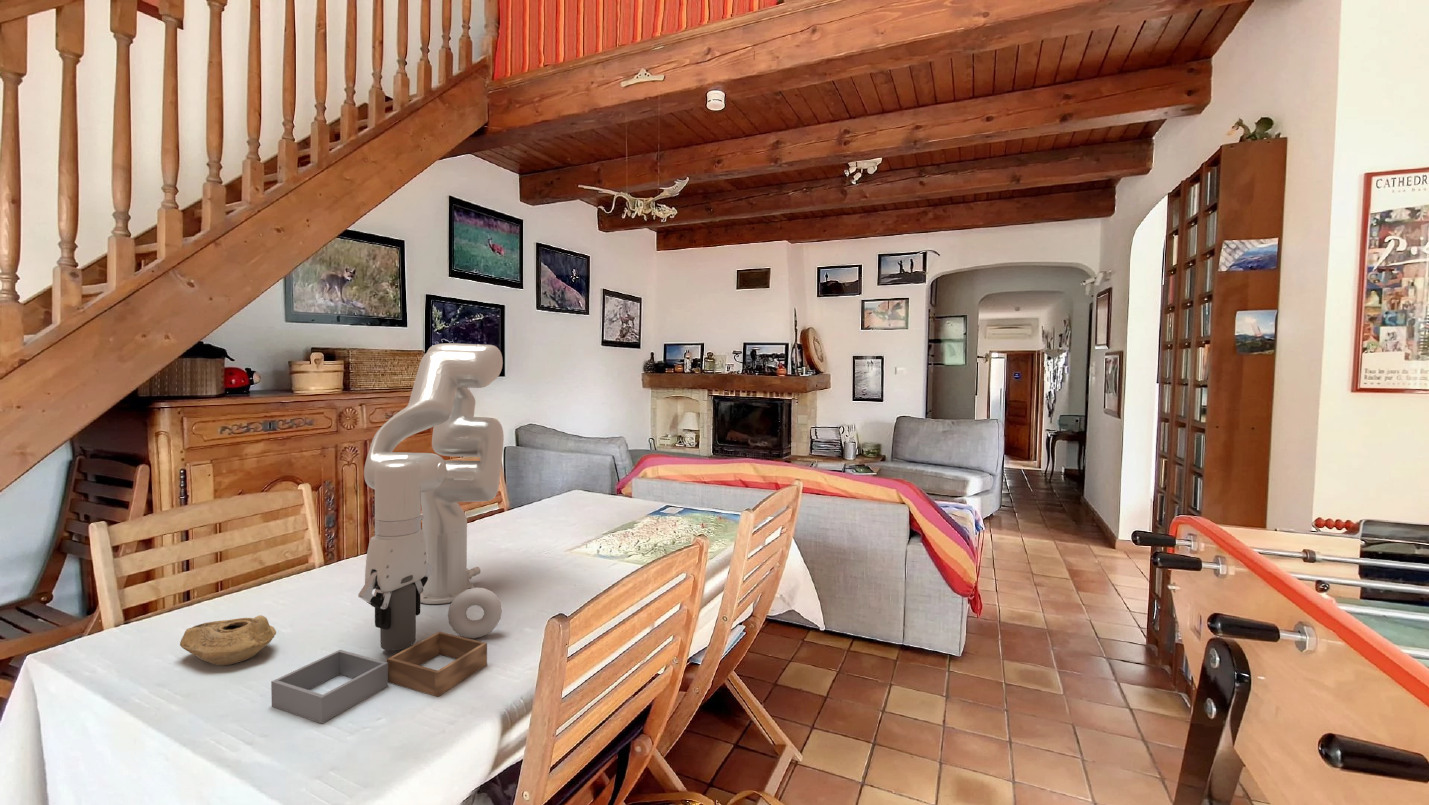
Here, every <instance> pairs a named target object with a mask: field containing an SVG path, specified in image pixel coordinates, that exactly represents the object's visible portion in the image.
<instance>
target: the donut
mask: <svg viewBox="0 0 1429 805" xmlns="http://www.w3.org/2000/svg"><path fill="white" fill-rule="evenodd" d="M450 603H451V604H450V605H449V607H448V612H447V618H448V623H449V626H450V628H451V629H452V631H453V632H454V633H455V634H457V636H460V637H464V638H468V639H478V638H481V637H484V636H486V635H488V634H489V633H491V632H492V631H494V629H495V628H497V625H499V622H500V620H501V616H502V613H503V609H502V603H501V601H500V599H499V598H498V595H497V594H495V593H494V592H493V591H492V590H489V589H488V588H485V587H474V588H471V589H467V590H465V591H463V592H462V593H460V594H459V595H458V596H457V597H456V598H455V599H454V600H453V601H452V602H450ZM472 606H478V607H480V608H482V609H483V615H482V617H481V618H479V619H475V620H474V619H470V618H469V617H468V614H467V611H468V609H469V608H470V607H472Z"/></svg>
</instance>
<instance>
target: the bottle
mask: <svg viewBox="0 0 1429 805" xmlns="http://www.w3.org/2000/svg"><path fill="white" fill-rule="evenodd" d="M412 579H413V575H410V576H407V577H405V578H403V579H402V580H401V584H402V583H406V582H409V581H411V580H412ZM382 598H383V594H382V595H381V598H380V599H381V600H382ZM388 607H390V608H391V627H390V629H387V630H386V629H382V628H379V629H380V630H379V631H380V635H379V636H380V637H379V638H380V648H381V650H382V649H383V650H386V651H399V650H404V649H407V648H409V647H411V646H413V645H414V643H415V642H416V639H417V638H416V636H417V634H416V632H417V630H416V629H417V628H416V627H417V625H416V624H417V621H416V620H417V619H416V618H417V615H416V587H415V585H414V584H413V583H411V584H408V585H405V586H403V587H401V588H399V589H397V590H394V591H392V593H391V597H390V600H389V603H388Z"/></svg>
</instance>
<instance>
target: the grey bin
mask: <svg viewBox="0 0 1429 805" xmlns="http://www.w3.org/2000/svg"><path fill="white" fill-rule="evenodd" d="M339 675H341V676H343V677H348V678H350V680H348V681H347V682H344V683H343V684H341V685H338V686H337V687H335V688H333V689H332V690H330V691H327V692H326V693H324V694H322V693H319V692H316V691H312V689H313V688H315V687H317V686H319V685H321V684H323V683H325V682H327V681H329V680H330V679H333V678H334V677H337V676H339ZM351 678H352V679H351ZM270 684H271V686H270V687H271V707H272V708H275V709H278V710H281V711H284V712H287V713H290V714H292V715H296V716H298V717H301V718H305V719H307V720H310V721H313V722H315V723H319V724H321V725H322V724H324V723H326V722H328V721H329V720H331V719H333V718H335V717H336V716H338V715H340V714H342V713H343V712H346V711H347V710H348V709H350V708H351V707H354V706H355V705H357V704H359V703H360V702H362V701H364V700H366V699H368V698H370V697H371V696H373V695H374V694H376V693H379V692H380V691H382V690H383V689H385V688H387V687H388V686H389V682H388V663H387V661H383V660H381V659H380V660H379V659H377V658H372V657H368V656H365V655H361V654H357V653H354V652H350V651H347V650H343V649H338V650H336V651H334V652H331V653H330V654H327V655H325V656H324V657H321V658H318V659H317V660H315V661H312V662H310V663H308V664H306V665H304V666H302V667H299V668H298V669H295V670H293V671H291V672H289V673H287V674H285V675H282V676H280V677H278V678H276V679H273V680H272V681H271V683H270ZM341 712H342V713H341ZM334 716H335V717H334Z"/></svg>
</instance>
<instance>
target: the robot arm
mask: <svg viewBox="0 0 1429 805" xmlns="http://www.w3.org/2000/svg"><path fill="white" fill-rule="evenodd" d="M503 364H504V362H503V355H502V352H501V350H500V349H499V348H498V347H497V346H496V345H493V344H478V343H477V344H476V343H474V344H473V343H456V342H455V343H450V342H448V343H437V344H434V345H432V346H430V347H429V348H428V350H427V351H426V353H425V354H424V355H423V356H422V358H421V360H420V362H419V365H418V370H417V372H416V376H415V379H414V383H413V388H412V389H411V393H410V397H409V400H408V404H407V405H406V407H404V408H403V409H401V410H400V411H398V412H397V413H395V414H394V415H393V416H391V418H389V419H388V420H387V421H386V422H384V424H382V425H381V427H380V428H379V429H377V431H376V432H375V434H374V436H373V438H372V440H371V444H370V446H369V449H368V453H367V456H366V459H365V464H364V467H363V468H364V469H363V477H364V481H365V484H366V485H367V486H368V487H369V488H370V489H372V490H374V536H372V537H371V536H370V539H369V541H368V542H369V543H368V547H367V552H366V558H365V569H364V570H365V571H364V572H365V573H364V585H363V586H362V588H361V590H360V591H359V593H358V598H360V600H363V601H364V602H366V603H368V604H369V605H370V606H371V607H372V608H374V626H375V627H376V628H378V629H380V628H382V629H386V630H387V629H390V627H391V608H390V607H388V603H389V600H390V597H391V593H392V591H394V590H397V589H399V588H401V587H403V586H405V585H408V584H411V583H413V584H414V585H415V587H416V616H419V615H421V604H425V605H442V604H449V603H452V601H453V600H454V599H455V598H456V597H457V596H458V595H459V594H460V593H462V592H463V591H465V590H467V589H471V588H475V586H474V583H471V582H470V580H471V579H473V577H476V576H478V575H480V574H481V573H482V572H481V568H480V567H479V566H475V567H473V568H471V569H468V567H467V566H468V564H467V563H468V562H467V561H468V559H467V558H468V552H467V550H468V519H467V516H466V515H467V514H466V513H465V511H464V510H463V508H462V507H461V505H460V504H459V503H461V502H462V503H464V502H465V503H467V502H468V503H469V502H470V503H471V502H474V503H478V502H480V503H481V502H482V503H483V502H489V501H492V500H494V499H495V497H496V496H497V495H498V493H499V492H498V491H499V488H500V480H501V470H502V462H503V461H502V460H503V453H504V452H503V451H504V439H505V438H504V428H503V426H502V424H501V421H499V420H498V419H496V418H492V417H484V416H483V417H477V416H476V417H475V416H474V415H475V408H476V399H475V396H474V394H473V393H472V392H471V390H470V389H471V388H473V389H481V388H485V387H487V386H489V385H490V384H491V383H492V382H494V381H495V380H496V379H497V378H498V377H499V376H500V374H501V372H502V369H503ZM469 388H470V389H469ZM431 428H433V429H432V430H433V431H432V435H431V437H432V438H431V447H432V450H433V451H434V453H430V452H406V451H405V452H403V451H402V452H393V451H394V450H395V449H396V447H397V446H398V445H399V444H400V443H401V442H403V441H404V440H406V439H407V438H409V437H412V436H413V435H415V434H418V433H420V432H423V431H426V430H429V429H431ZM442 456H443V457H463V458H464V457H466V458H467V457H469V458H480V459H479V460H461V459H459V460H455V459H452V460H450V459H449V460H447V459H446V460H445V459H444V458H443V457H442ZM410 575H413V579H412V580H411V581H409V582H406V583H402V584H401V580H402V579H403V578H405V577H407V576H410ZM373 591H374V594H373ZM382 594H383V598H382V600H381V599H380V598H381V595H382Z"/></svg>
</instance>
